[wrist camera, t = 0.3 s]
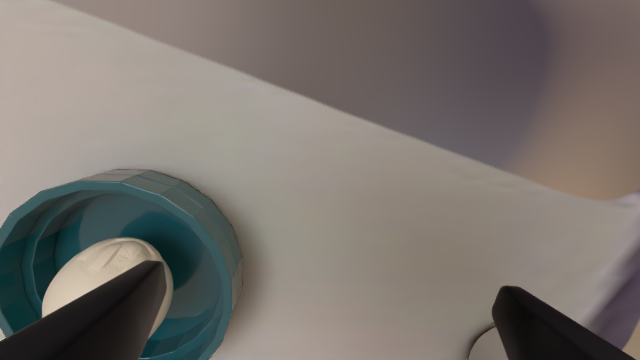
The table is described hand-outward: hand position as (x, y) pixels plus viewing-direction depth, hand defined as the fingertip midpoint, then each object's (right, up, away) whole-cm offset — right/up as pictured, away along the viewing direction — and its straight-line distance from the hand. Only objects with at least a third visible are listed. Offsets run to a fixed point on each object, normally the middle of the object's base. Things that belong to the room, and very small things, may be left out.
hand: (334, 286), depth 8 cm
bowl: (-14, -4, +15) cm, 21 cm away
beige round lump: (-14, -4, +15) cm, 21 cm away
